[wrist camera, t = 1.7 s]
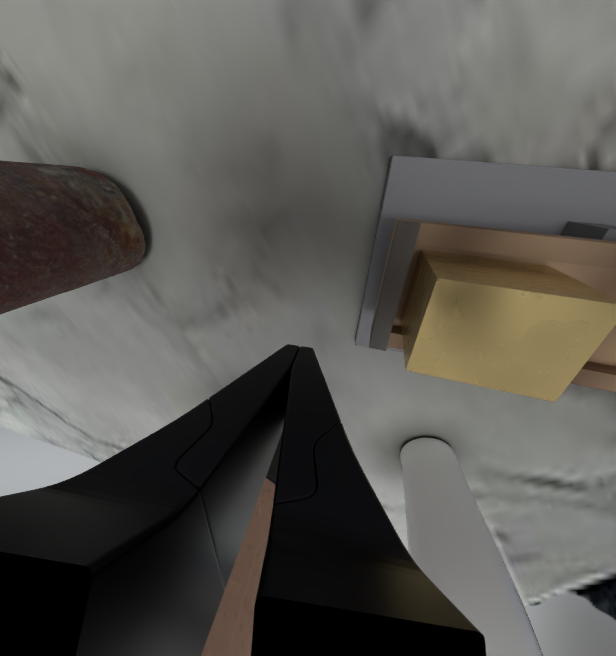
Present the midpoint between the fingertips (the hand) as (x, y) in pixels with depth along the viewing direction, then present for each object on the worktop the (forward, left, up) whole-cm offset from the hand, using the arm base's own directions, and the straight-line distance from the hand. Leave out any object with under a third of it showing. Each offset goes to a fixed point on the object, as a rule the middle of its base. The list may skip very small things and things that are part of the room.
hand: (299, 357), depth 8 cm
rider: (-8, 0, -8) cm, 11 cm away
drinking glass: (-12, +19, -12) cm, 26 cm away
